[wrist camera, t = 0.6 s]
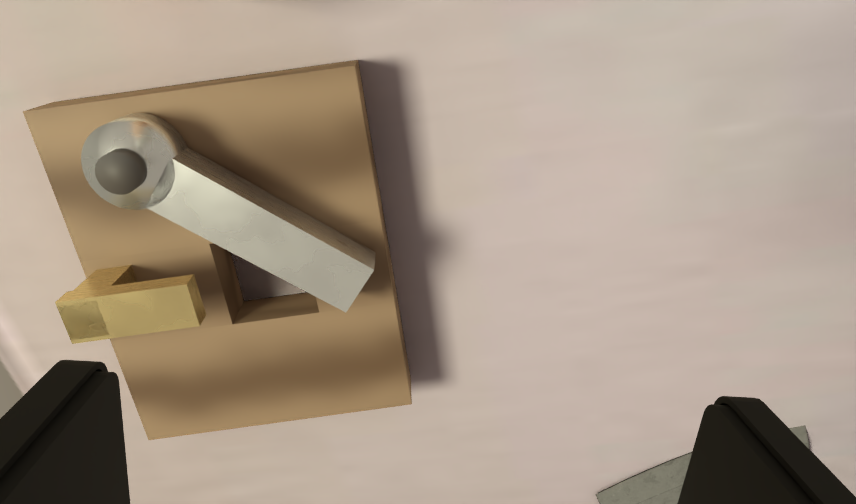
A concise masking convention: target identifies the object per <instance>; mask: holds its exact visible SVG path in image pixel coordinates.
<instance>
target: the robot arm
mask: <svg viewBox="0 0 856 504" xmlns="http://www.w3.org/2000/svg"><path fill="white" fill-rule="evenodd" d="M0 504H130V497H129V486H128V475H127V464H126V453H125V442H124V432H123V421H122V410H121V399H120V388H119V380H118V376H117V374H116V373H114V372H108V371H107V368H106V366H105V364H104V363H102V362H93V361H74V360H61V361H59V362H58V363H56V364H55V365H54V366H53V367H52V368H51V369H50V370H49V371H48V372H47V373H46V374H45V375H44V376H43V377H42V378H41V379H40V380H39V381H38V382H37V383H36V384H35V385H34V386H33V387H32V388H31V389H30V390H29V391H28V392H27V393H26V394H25V395H24V396H23V397H22V398H21V399H20V400H19V401H18V402H17V403H16V404H15V405H14V406H13V407H12V408H11V409H10V410H9V411H8V412H7V413H6V414H5V415H4V416H3V417H2V418H1V419H0ZM677 504H856V497H855V496H854V495H853V494H852V493H851V492H850V491H849V490H848V489H847V488H846V487H845V486H844V485H843V484H842V483H841V482H840V480H839V479H838V478H837V477H836V476H835V475H834V474H833V473H832V472H831V471H830V470H829V469H828V468H827V467H826V466H825V465H824V464H823V463H822V462H821V461H820V460H819V459H818V458H817V457H816V456H815V455H814V454H813V453H812V452H811V451H810V450H809V449H808V448H807V447H806V446H805V445H804V443H803V442H802V441H801V440H800V439H799V438H798V437H797V436H796V435H795V434H794V433H793V432H792V431H791V430H790V429H789V428H788V427H787V426H786V425H785V424H784V423H783V422H782V421H781V420H780V419H779V418H778V417H777V416H776V415H775V414H774V413H773V412H772V411H771V410H770V409H769V408H768V406H767V405H766V404H765V403H764V402H762V401H761V400H760V399H757V398H747V397H728V396H722V397H719V398H718V399H717V400H716V401H715V403H714V405H712V404H711V405H709V406H707V408H706V409H705V411H704V414H703V417H702V421H701V424H700V428H699V431H698V434H697V438H696V441H695V445H694V448H693V452H692V455H691V459H690V462H689V465H688V469H687V472H686V476H685V479H684V483H683V486H682V490H681V493H680V496H679V500H678V503H677Z"/></svg>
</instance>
